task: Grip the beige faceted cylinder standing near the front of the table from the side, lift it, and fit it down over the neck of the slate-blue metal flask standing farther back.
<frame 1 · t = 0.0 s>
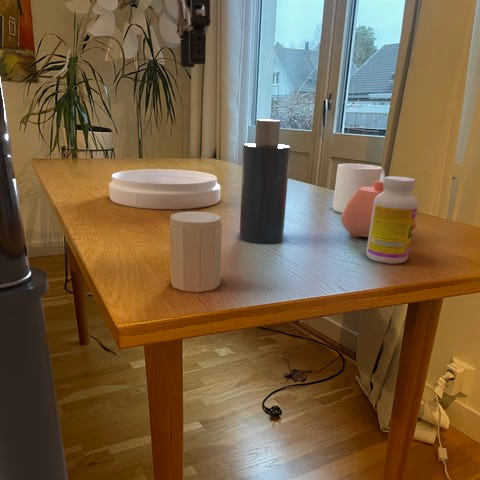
hand: (192, 65, 71), 27 cm above the table, tool pointing down, fingers open, 8 cm apart
flask: (261, 237, 87), on the table
beige faceted cylinder: (195, 283, 64), on the table
mug: (357, 211, 114), on the table
plate: (165, 199, 118), on the table
supplement bottle: (385, 259, 79), on the table
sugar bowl: (375, 237, 92), on the table
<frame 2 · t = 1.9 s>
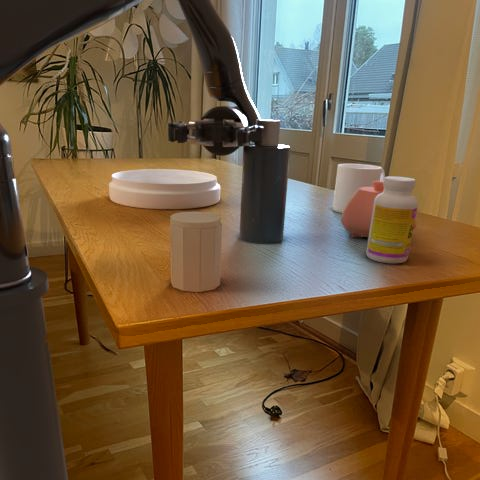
hand: (209, 136, 66), 18 cm above the table, tool horizontal, fingers open, 8 cm apart
nothing on the table moved.
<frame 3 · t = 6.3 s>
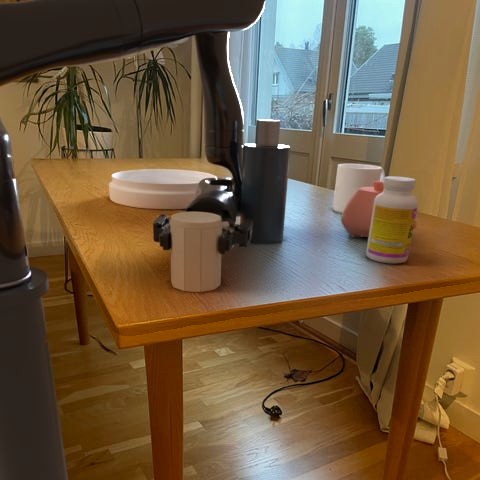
hand: (194, 244, 60), 6 cm above the table, tool horizontal, fingers closed on beige faceted cylinder, 6 cm apart
beige faceted cylinder: (195, 283, 64), on the table, touching gripper
everything else where it was.
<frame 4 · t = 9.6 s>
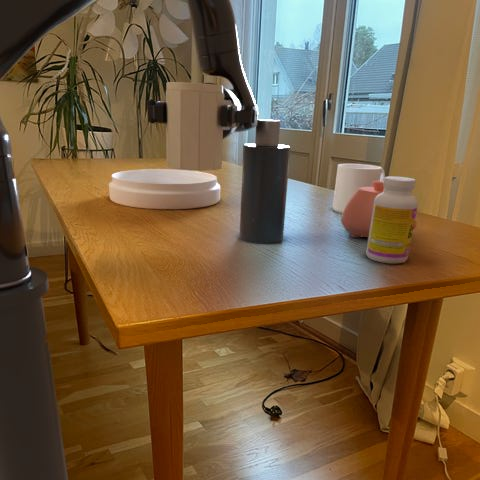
hand: (192, 114, 53), 21 cm above the table, tool horizontal, fingers closed on beige faceted cylinder, 6 cm apart
beige faceted cylinder: (194, 167, 57), point 15 cm above the table, touching gripper
everything else where it was.
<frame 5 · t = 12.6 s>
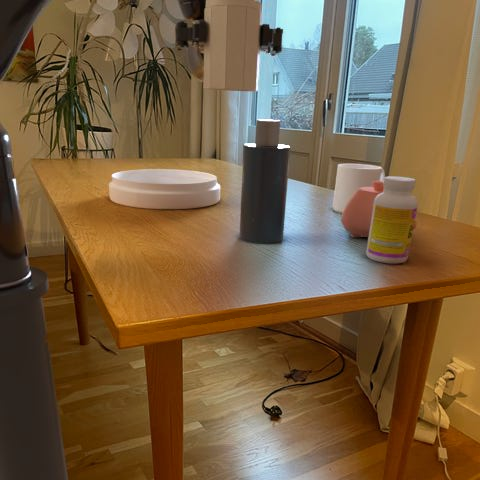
hand: (234, 32, 54), 30 cm above the table, tool horizontal, fingers closed on beige faceted cylinder, 6 cm apart
beige faceted cylinder: (230, 90, 58), point 24 cm above the table, touching gripper
everything else where it was.
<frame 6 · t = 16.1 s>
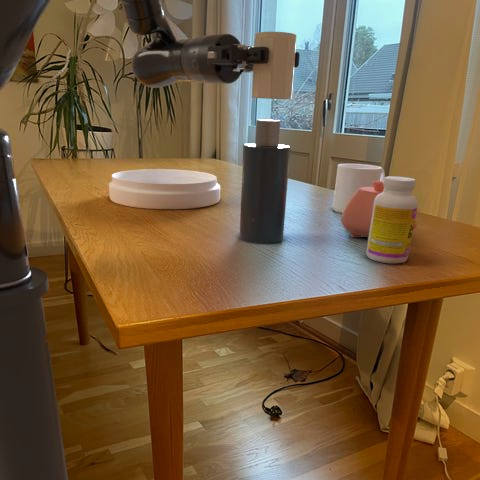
hand: (282, 57, 74), 29 cm above the table, tool horizontal, fingers closed on beige faceted cylinder, 6 cm apart
beige faceted cylinder: (271, 98, 77), point 23 cm above the table, touching gripper
everything else where it was.
when the fingers open (22 cm above the table, at t = 19.2 s): beige faceted cylinder stays where it is, resting on flask.
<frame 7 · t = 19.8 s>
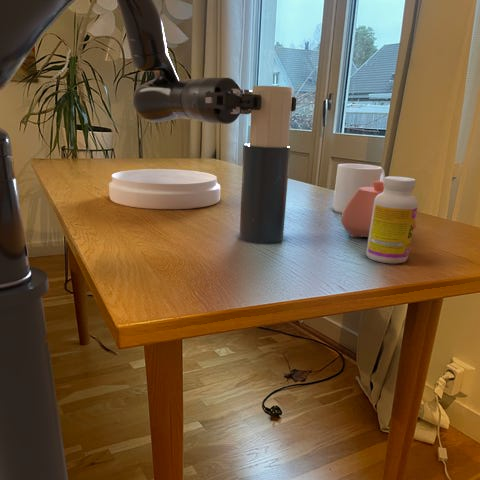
hand: (278, 103, 77), 23 cm above the table, tool horizontal, fingers open, 8 cm apart
beige faceted cylinder: (269, 145, 80), point 16 cm above the table, touching flask
everything else where it was.
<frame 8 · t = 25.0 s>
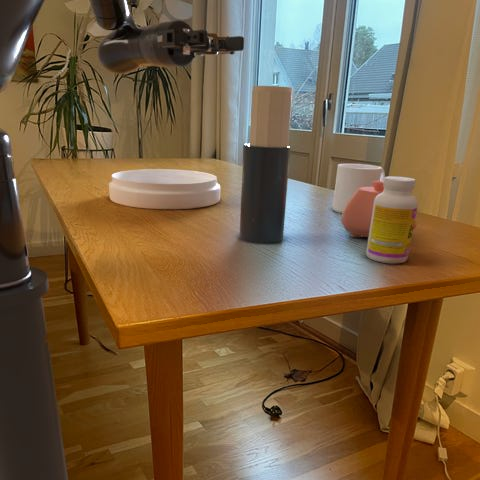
hand: (224, 40, 81), 32 cm above the table, tool horizontal, fingers open, 8 cm apart
nothing on the table moved.
at the end: beige faceted cylinder 0.6 cm off-centre on the flask, point 16.0 cm above the flask's base; beige faceted cylinder tilted 0°; the gripper is holding nothing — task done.
